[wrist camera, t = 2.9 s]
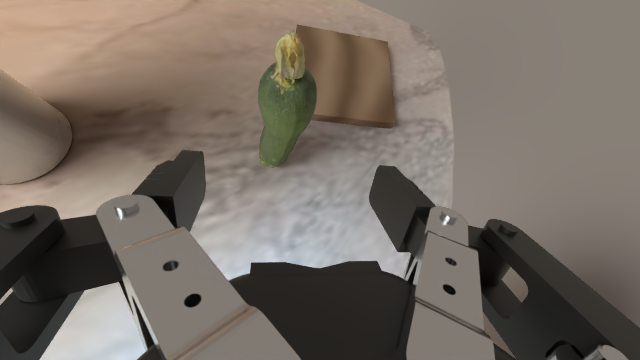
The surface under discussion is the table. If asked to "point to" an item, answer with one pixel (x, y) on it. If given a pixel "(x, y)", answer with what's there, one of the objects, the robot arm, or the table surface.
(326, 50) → the cutting board
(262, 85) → the vegetable
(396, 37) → the table surface
